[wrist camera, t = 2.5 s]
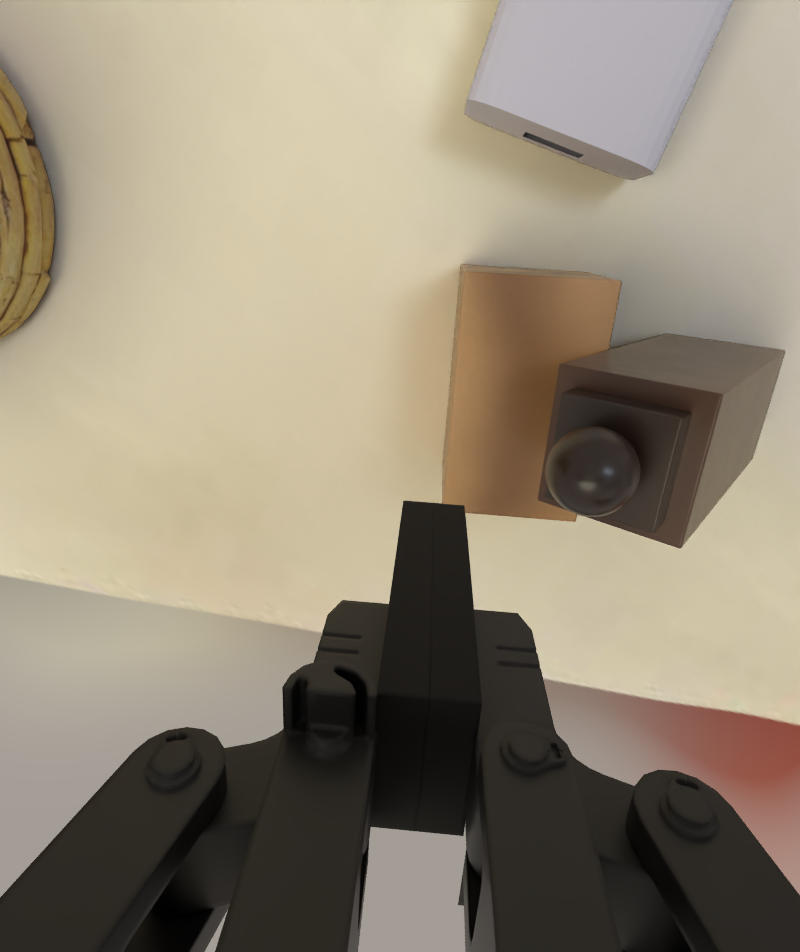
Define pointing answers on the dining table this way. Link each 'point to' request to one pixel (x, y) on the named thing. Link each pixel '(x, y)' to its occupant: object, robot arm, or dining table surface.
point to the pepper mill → (656, 431)
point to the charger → (594, 75)
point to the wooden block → (515, 379)
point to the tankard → (22, 214)
